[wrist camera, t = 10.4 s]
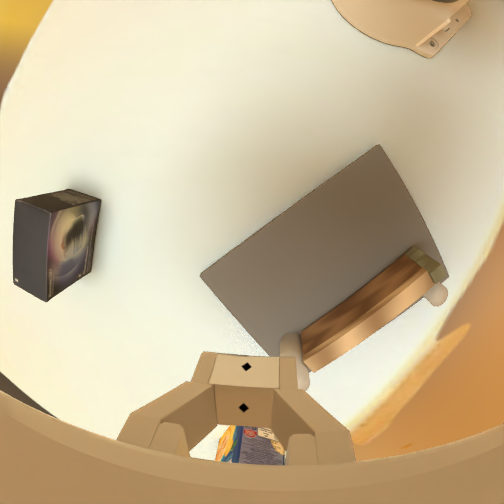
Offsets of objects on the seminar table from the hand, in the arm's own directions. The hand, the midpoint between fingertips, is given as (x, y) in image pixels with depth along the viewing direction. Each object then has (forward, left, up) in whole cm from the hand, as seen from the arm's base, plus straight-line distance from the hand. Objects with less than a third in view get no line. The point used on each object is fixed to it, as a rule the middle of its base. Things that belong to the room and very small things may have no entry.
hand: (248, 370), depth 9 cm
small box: (+20, -15, -25) cm, 35 cm away
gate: (-4, +13, -23) cm, 27 cm away
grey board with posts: (-3, +9, -24) cm, 26 cm away
